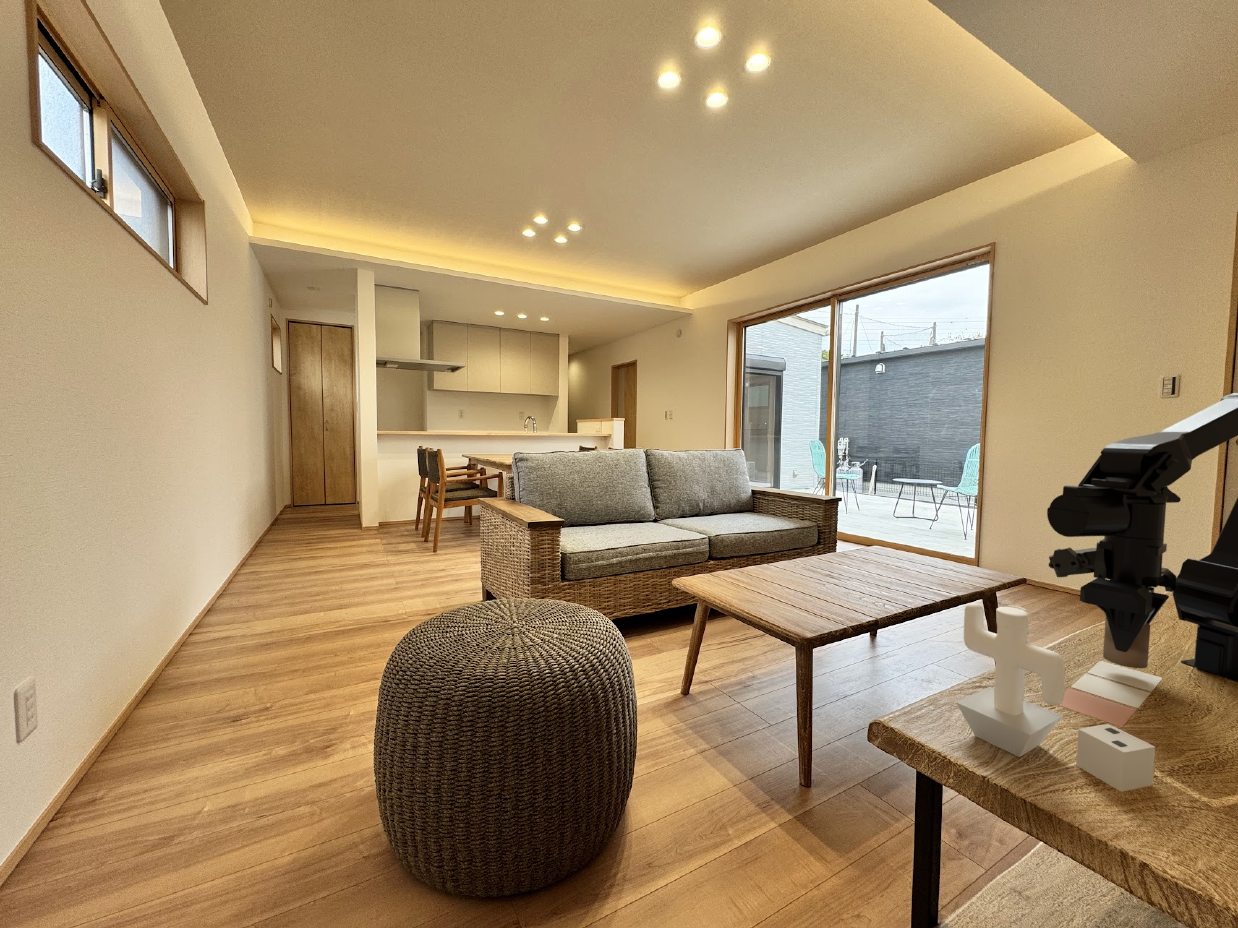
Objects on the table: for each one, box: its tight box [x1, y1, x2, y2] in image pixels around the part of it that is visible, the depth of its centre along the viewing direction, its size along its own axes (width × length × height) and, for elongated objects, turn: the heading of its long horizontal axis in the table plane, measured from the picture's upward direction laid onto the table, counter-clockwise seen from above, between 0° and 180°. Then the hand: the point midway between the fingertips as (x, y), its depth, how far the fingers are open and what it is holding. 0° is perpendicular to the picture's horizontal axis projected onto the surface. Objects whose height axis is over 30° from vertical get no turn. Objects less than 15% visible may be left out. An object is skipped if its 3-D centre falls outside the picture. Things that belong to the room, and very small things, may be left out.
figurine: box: [955, 602, 1066, 758], centre depth 57 cm, size 7×9×15 cm
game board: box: [1058, 660, 1164, 728], centre depth 68 cm, size 22×8×1 cm, turn 125°
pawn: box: [1102, 617, 1151, 669], centre depth 71 cm, size 4×4×8 cm
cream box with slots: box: [1075, 723, 1156, 792], centre depth 52 cm, size 4×4×4 cm
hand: (1125, 646), depth 71 cm, fingers closed on pawn, 4 cm apart
